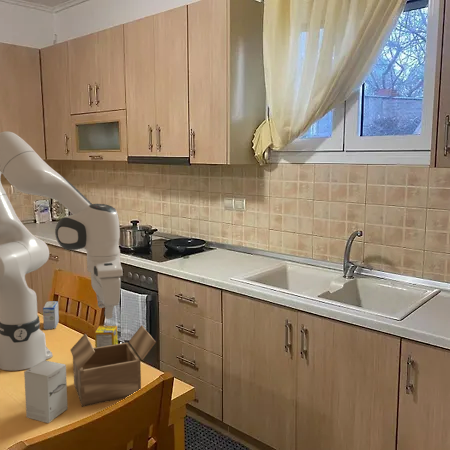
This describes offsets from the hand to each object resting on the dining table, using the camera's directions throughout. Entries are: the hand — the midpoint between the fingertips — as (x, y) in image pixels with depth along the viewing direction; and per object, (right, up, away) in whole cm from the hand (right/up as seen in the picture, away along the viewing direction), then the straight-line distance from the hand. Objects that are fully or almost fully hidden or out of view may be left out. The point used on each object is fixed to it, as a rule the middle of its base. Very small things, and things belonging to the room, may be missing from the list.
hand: (104, 312), depth 134 cm
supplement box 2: (-5, -20, +22) cm, 30 cm away
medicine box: (-34, -15, +52) cm, 64 cm away
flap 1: (-6, -10, -1) cm, 12 cm away
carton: (0, -22, +3) cm, 23 cm away
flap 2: (+9, -9, +6) cm, 14 cm away
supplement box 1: (-12, -25, -10) cm, 29 cm away
